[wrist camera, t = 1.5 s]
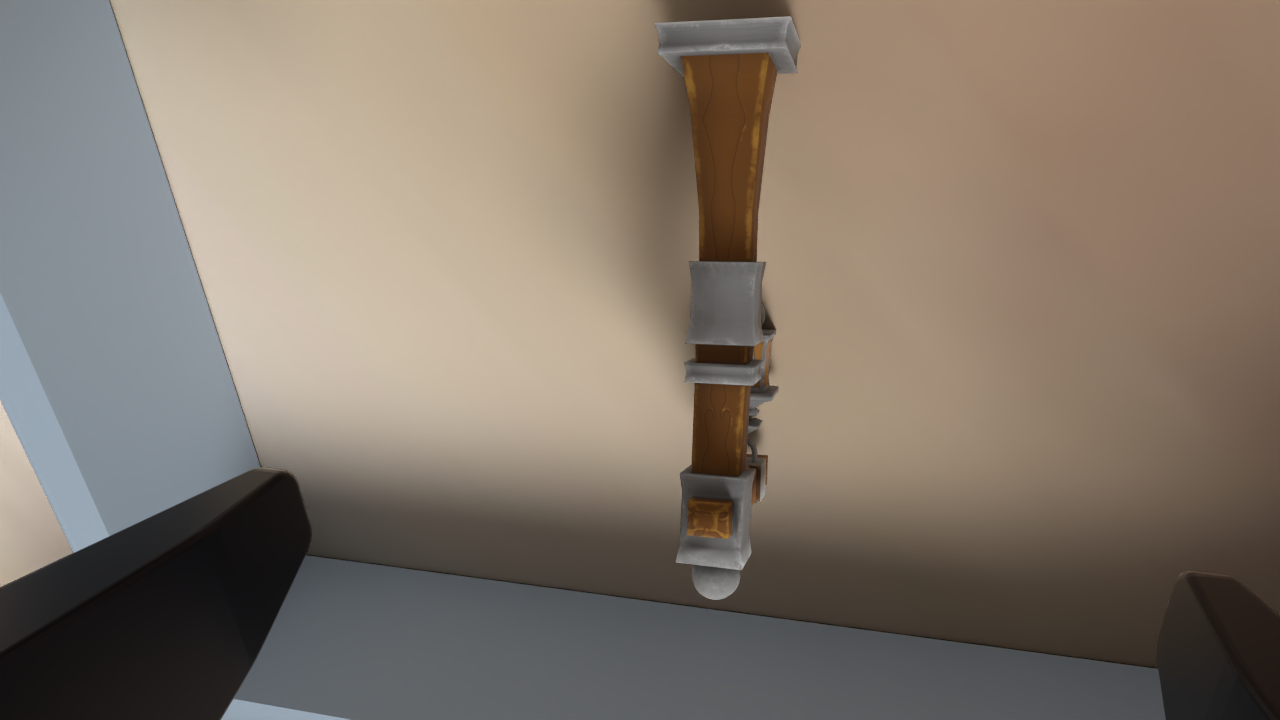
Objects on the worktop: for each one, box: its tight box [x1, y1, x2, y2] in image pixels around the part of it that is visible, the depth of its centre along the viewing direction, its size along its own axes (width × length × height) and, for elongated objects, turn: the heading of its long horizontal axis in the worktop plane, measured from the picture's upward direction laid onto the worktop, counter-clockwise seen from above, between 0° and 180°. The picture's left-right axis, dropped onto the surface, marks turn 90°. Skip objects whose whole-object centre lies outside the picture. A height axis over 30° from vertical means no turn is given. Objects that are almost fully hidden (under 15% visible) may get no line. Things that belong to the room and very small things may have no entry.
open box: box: [0, 0, 1166, 720], centre depth 14 cm, size 24×16×4 cm, turn 93°
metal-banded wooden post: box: [654, 16, 801, 600], centre depth 14 cm, size 2×8×4 cm, turn 5°
